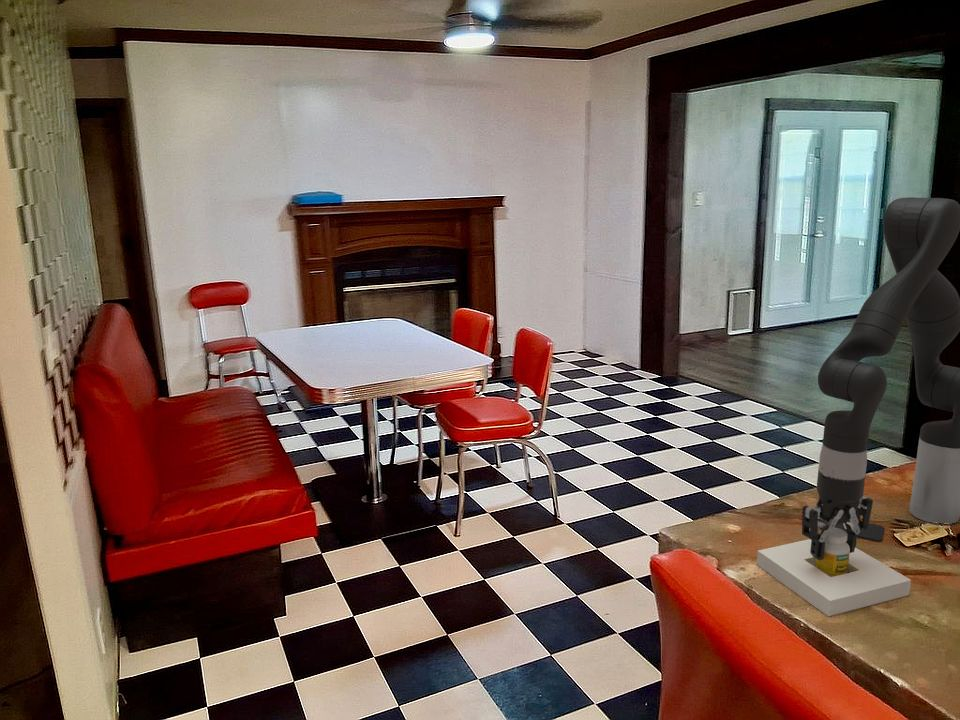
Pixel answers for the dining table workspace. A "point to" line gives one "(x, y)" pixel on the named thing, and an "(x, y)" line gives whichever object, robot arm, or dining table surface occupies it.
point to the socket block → (833, 578)
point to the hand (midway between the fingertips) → (832, 554)
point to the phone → (866, 532)
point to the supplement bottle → (835, 554)
